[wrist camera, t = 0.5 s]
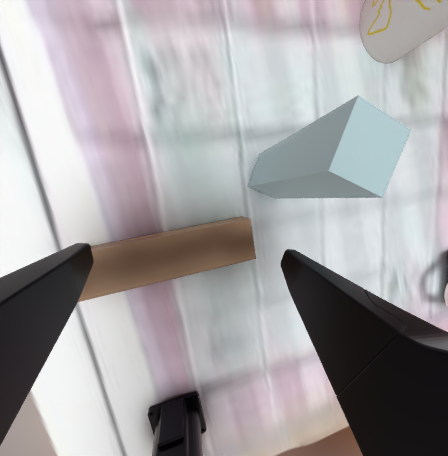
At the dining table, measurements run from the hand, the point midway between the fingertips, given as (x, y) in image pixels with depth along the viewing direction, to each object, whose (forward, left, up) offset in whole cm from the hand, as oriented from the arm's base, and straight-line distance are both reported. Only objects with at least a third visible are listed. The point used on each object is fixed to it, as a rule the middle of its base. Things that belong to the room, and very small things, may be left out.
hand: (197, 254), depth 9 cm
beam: (-3, +3, -13) cm, 14 cm away
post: (+4, -10, -13) cm, 17 cm away
